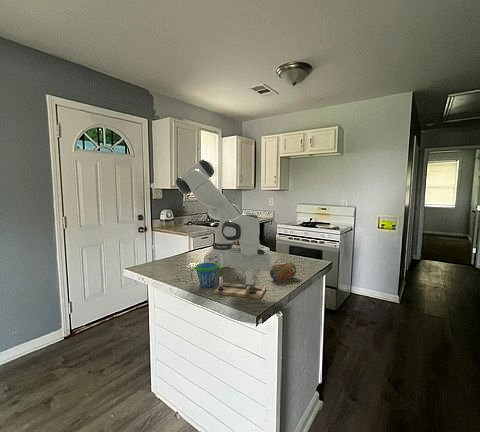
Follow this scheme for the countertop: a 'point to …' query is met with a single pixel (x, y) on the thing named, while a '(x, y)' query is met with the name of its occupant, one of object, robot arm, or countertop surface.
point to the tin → (283, 271)
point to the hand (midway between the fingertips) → (250, 278)
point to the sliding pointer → (249, 280)
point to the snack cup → (207, 274)
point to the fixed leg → (220, 283)
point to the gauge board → (240, 290)
